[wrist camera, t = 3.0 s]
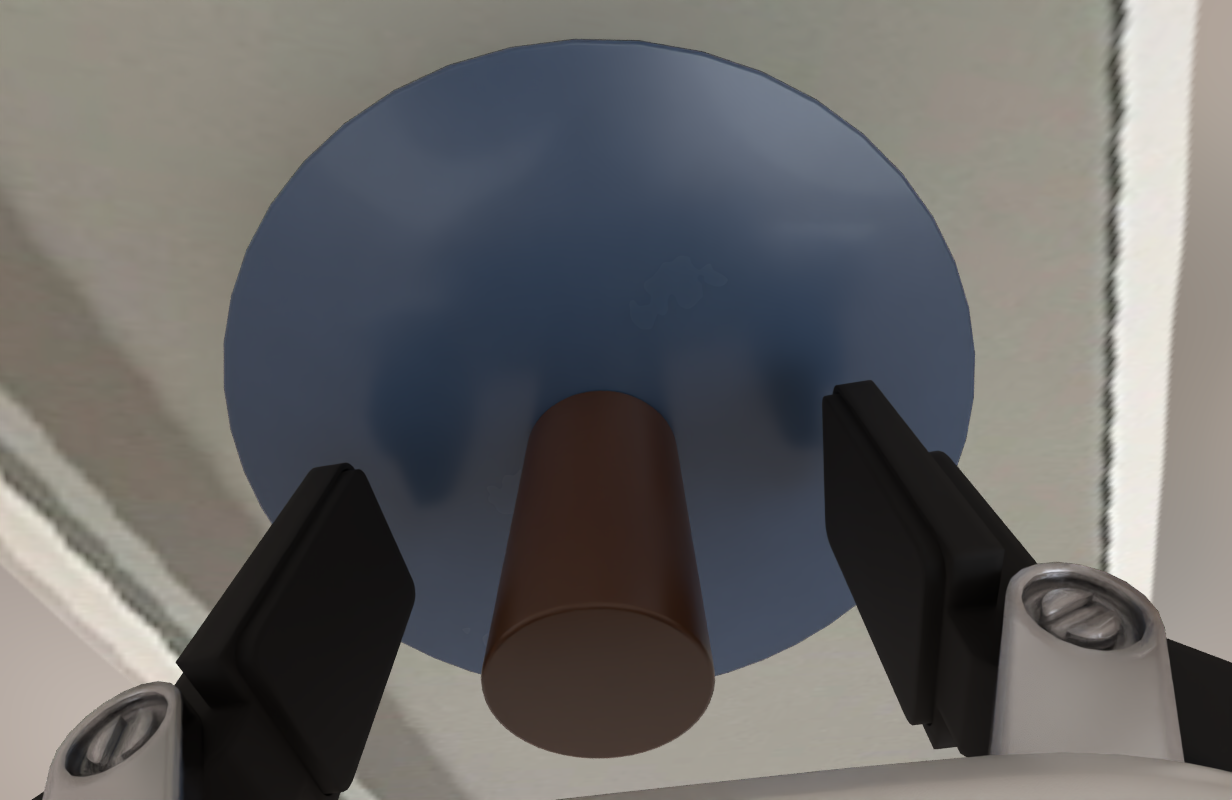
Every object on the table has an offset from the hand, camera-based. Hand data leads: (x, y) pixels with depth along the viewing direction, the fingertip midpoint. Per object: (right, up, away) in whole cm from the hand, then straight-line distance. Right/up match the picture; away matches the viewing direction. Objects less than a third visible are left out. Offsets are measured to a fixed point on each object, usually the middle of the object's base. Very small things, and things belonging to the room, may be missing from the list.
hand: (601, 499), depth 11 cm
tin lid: (0, +1, +2) cm, 2 cm away
